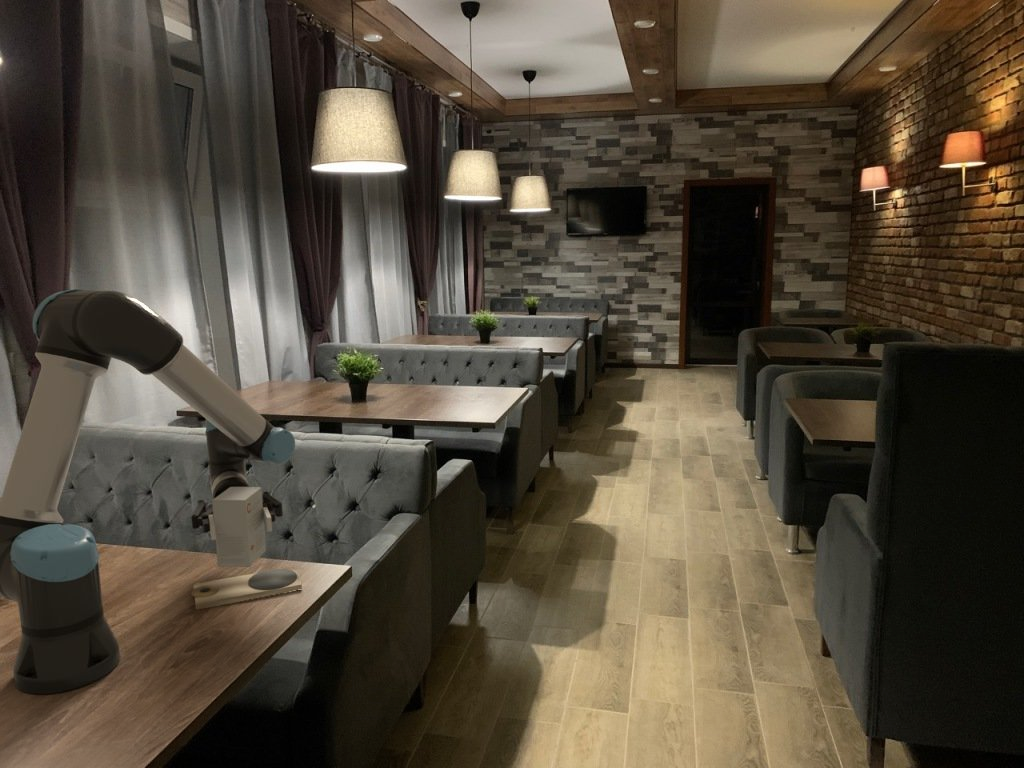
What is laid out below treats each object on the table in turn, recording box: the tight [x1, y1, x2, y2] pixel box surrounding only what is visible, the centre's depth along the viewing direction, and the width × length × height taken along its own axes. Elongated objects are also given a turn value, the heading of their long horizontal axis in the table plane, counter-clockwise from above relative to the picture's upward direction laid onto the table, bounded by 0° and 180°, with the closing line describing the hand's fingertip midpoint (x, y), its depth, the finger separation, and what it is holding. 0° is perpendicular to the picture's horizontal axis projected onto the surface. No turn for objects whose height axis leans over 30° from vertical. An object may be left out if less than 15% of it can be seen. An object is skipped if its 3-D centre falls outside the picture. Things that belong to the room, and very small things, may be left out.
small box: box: [211, 486, 267, 568], centre depth 143 cm, size 8×6×13 cm
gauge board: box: [191, 566, 303, 611], centre depth 155 cm, size 10×20×2 cm, turn 115°
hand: (241, 528), depth 138 cm, fingers closed on small box, 9 cm apart
